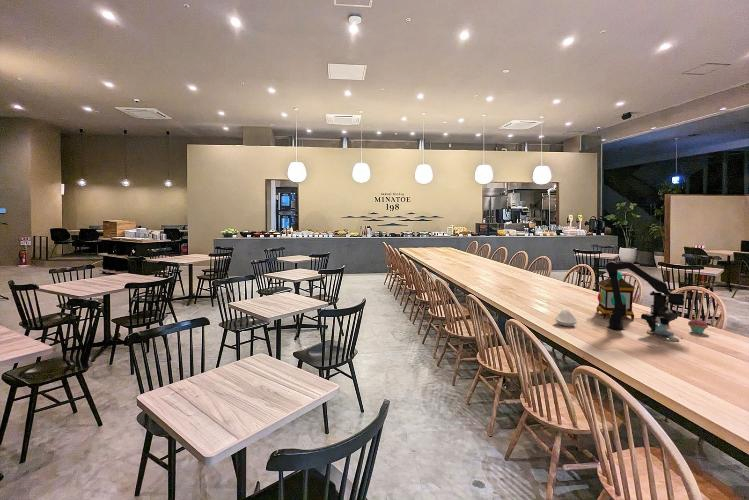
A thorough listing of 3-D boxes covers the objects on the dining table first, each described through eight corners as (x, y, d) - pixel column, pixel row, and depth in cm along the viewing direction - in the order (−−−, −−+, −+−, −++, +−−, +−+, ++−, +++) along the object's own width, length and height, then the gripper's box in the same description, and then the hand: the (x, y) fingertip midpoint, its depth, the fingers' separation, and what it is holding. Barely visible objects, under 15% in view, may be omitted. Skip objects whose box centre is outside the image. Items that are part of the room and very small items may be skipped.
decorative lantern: (601, 319, 246) (603, 272, 244) (593, 311, 265) (595, 268, 263) (637, 321, 241) (639, 273, 238) (627, 313, 260) (628, 269, 257)
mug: (648, 332, 217) (649, 323, 217) (659, 332, 218) (659, 322, 217) (666, 339, 206) (667, 328, 205) (677, 338, 207) (678, 328, 206)
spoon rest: (578, 328, 227) (578, 317, 227) (555, 327, 231) (556, 315, 231) (573, 318, 249) (573, 307, 248) (553, 317, 253) (553, 306, 253)
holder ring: (659, 337, 209) (659, 335, 209) (642, 331, 219) (642, 330, 219) (674, 335, 211) (674, 334, 211) (657, 330, 221) (657, 329, 221)
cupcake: (689, 333, 215) (690, 312, 214) (685, 329, 222) (687, 308, 221) (709, 335, 211) (710, 313, 210) (705, 331, 218) (706, 310, 217)
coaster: (670, 342, 200) (670, 341, 200) (654, 337, 209) (654, 336, 208) (683, 341, 202) (683, 340, 202) (667, 336, 210) (667, 335, 210)
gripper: (659, 308, 203) (658, 337, 205) (687, 305, 208) (686, 334, 209) (640, 303, 214) (639, 331, 216) (667, 301, 218) (666, 328, 220)
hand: (658, 331), depth 215 cm, fingers closed on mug, 7 cm apart
